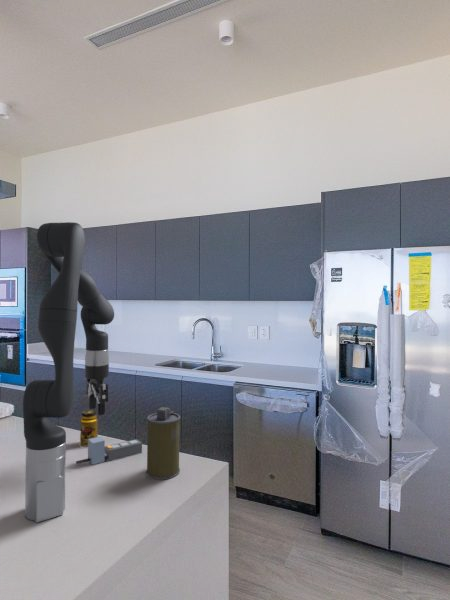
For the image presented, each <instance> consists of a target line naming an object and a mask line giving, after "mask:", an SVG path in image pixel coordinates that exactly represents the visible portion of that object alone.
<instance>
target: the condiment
mask: <svg viewBox="0 0 450 600" xmlns="http://www.w3.org/2000/svg"><path fill="white" fill-rule="evenodd" d="M97 416H98V414H97V411H96V410H94V409H93V410H92V409H89V410H85V411H82V412H81V419H80V438H79V439H78V440H76V442H77V444H78V446H79V447H80V449H83V448H84V449H85V448H88V439H91V438H96V437H99V436H98V428H99V426H98V423H99V422H98V418H97Z"/></svg>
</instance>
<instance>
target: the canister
mask: <svg viewBox="0 0 450 600" xmlns="http://www.w3.org/2000/svg"><path fill="white" fill-rule="evenodd" d="M180 419H181V416H180V414H178V413H176V411H171V407H165V406H164V407H163V406H161V407H160V408H158V409H157V410H156V412H155V413H151V414H149V415H148V416H147V417H146V420H147V439H146V440H147V441H146V442H147V444H146V445H147V446H146V447H147V449H146V451H147V452H146V455H147V456H146V460H147V463H146V464H147V465H146V472H145V473H146V476H148V477H149V478H151V479H154V480H167V479H172V478H174V477H176V476H178V475H179V474H180V471H181V470H180V422H181V421H180Z"/></svg>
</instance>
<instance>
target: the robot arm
mask: <svg viewBox="0 0 450 600" xmlns="http://www.w3.org/2000/svg"><path fill="white" fill-rule="evenodd" d="M85 236H86V235H85V231H84V228H83V227H82V226H81V224H80V223H78V222H72V221H71V222H47V223H43V224H41V225H40V226H39V227H38V229H37V232H36V242H37V245H38V247H39V249H40V252H41V253H42V254H43V255H44V257H45V258H46V259H47V261H48V262H49V263H50V264H51V265H52V266H53V268H54V269H55V270H56V272H57V273H58V275H57V276H56V278H55V280H54V281H53V283H52V284H51V285H50V287H49V288H48V290H47V291H46V292H45V294H44V295H43V297H42V298H41V301H40V303H39V308H38V309H39V311H38V318H37V319H38V322H37V330H38V332H39V336H40V337H41V339H42V341H43V343H44V344H45V346H46V348H47V350H48V352H49V353H50V356H51V358H52V360H53V365H54V379H53V380H52V379H37V380H36V379H35V380H32V381H30V382H29V383H28V384H27V386H26V388H25V390H24V391H23V396H22V397H23V398H22V417H23V434H24V435H23V436H24V439H25V487H24V488H25V492H24V493H25V499H24V500H25V501H24V505H25V506H24V507H25V508H24V509H25V510H24V512H25V513H24V514H25V515H24V516H25V518H27V520H29V521H34V522H35V523H40V522H43V521H46V520H49V519H53V518H55V517H58V516H62V515H63V514H64V510H65V509H66V459H67V457H66V456H67V455H66V452H67V451H66V449H67V446H66V445H67V444H66V443H67V433H66V430H65V429H64V428H63V427H61V426H60V425H59V426H58V425H56V424H55V423H53V422H51V421H50V420H49V419H48V418H54V419H55V418H65V417H67V416H68V415H69V414H70V412H71V409H72V406H73V402H74V386H75V385H74V383H75V382H74V356H75V355H74V354H75V353H74V351H75V338H76V330H77V318H78V303H79V305H80V306H81V310H80V320H81V324H82V326H83V327H82V328H83V329H84V330H83V331H84V335H85V356H84V377H85V379H86V381H85V382H86V384H85V385H86V386H85V387H86V388H85V394H86V395H87V397H88V409H89V410H92V409H93V410H94V409H96V408H97V411H96V412H97V414H96V415H97V416H103V415H104V416H105V414H106V403H108V402H109V383H105V381H104V380H105V379H106V378H108V377H109V372H110V370H109V369H110V364H109V363H110V356H109V355H110V354H109V335H108V333H107V332H106V331H102V330H99V329H98V328H97V326H96V325H109V324H110V323H112V322H113V320H114V319H115V310H114V308H113V305H112V304H111V303H110V301H108V299H106V297H104V295H103V294H101V292H100V291H99V288H98V286H97V284H96V282H95V281H94V279H93V278H92V276H91V275H90V274H89V273H88V272H87V271H85V270H84V269H82V267H83V266H82V265H83V259H84V253H85V245H86V244H85V243H86V242H85V241H86V237H85Z"/></svg>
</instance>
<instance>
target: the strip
mask: <svg viewBox="0 0 450 600" xmlns="http://www.w3.org/2000/svg"><path fill="white" fill-rule="evenodd" d="M105 453H106V454H107V456H104V459H105V460H107V461H108V462H111V461H115V460H119V459H123V458H127V457H131V456H135V455H139V454H143V442H141V441H140V440H139V439H131V440H126V441H123V442H117V443H114V444H113V443H112V444H109V445H105Z"/></svg>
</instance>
